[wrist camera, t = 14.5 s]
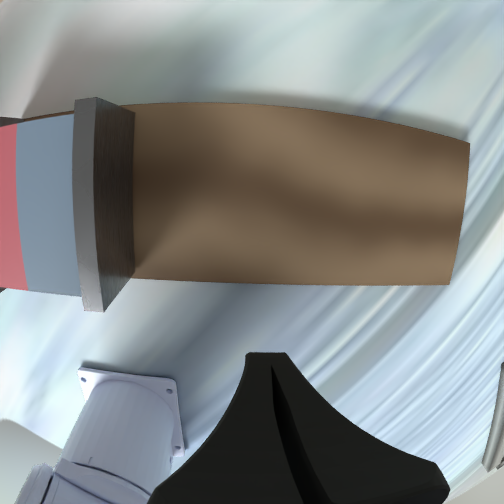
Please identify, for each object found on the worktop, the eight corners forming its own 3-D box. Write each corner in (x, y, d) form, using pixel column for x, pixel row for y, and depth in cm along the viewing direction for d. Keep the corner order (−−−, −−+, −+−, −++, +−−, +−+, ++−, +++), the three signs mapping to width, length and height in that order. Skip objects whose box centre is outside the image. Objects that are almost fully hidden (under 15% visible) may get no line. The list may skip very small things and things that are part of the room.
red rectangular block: (70, 259, 17) (28, 290, 13) (29, 256, 17) (-16, 284, 12) (66, 128, 15) (17, 123, 10) (23, 134, 15) (-28, 134, 10)
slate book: (120, 262, 18) (86, 297, 13) (70, 259, 17) (28, 290, 13) (119, 123, 15) (78, 113, 11) (66, 128, 15) (17, 123, 10)
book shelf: (441, 279, 20) (501, 322, 14) (26, 265, 18) (-34, 306, 12) (461, 142, 17) (534, 147, 11) (19, 122, 16) (-52, 119, 9)
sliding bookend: (135, 271, 18) (103, 312, 13) (120, 270, 18) (84, 310, 13) (135, 112, 15) (96, 97, 10) (118, 113, 15) (75, 100, 10)
